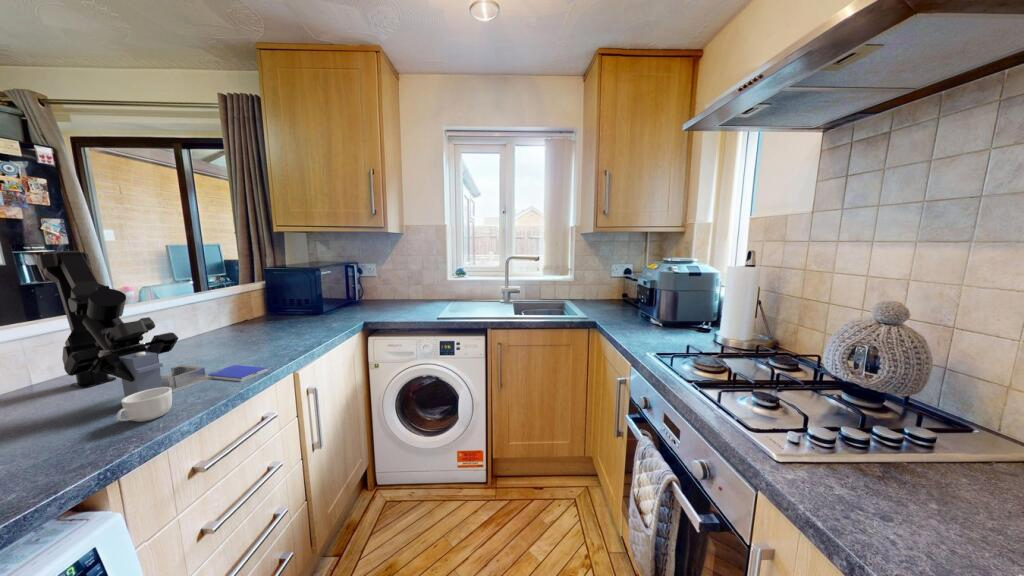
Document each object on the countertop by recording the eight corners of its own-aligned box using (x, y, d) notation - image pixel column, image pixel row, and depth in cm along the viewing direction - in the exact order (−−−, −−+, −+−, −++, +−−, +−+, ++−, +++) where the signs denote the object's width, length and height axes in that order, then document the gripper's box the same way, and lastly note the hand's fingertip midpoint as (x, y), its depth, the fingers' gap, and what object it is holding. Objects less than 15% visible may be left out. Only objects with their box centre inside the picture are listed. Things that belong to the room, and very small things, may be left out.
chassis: (137, 387, 92) (135, 376, 91) (181, 373, 101) (180, 363, 101) (172, 392, 88) (170, 380, 88) (214, 378, 98) (213, 367, 97)
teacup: (152, 408, 80) (149, 387, 79) (184, 408, 80) (181, 386, 79) (101, 431, 70) (97, 407, 69) (138, 431, 70) (134, 407, 69)
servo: (122, 403, 83) (113, 354, 81) (146, 395, 87) (138, 348, 85) (144, 407, 80) (136, 356, 79) (168, 398, 85) (160, 350, 83)
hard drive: (207, 374, 98) (240, 377, 95) (236, 364, 106) (267, 367, 103) (208, 379, 98) (241, 382, 95) (236, 368, 106) (268, 371, 103)
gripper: (61, 318, 73) (102, 370, 71) (168, 303, 90) (202, 345, 89) (47, 350, 76) (86, 401, 74) (153, 329, 94) (186, 370, 92)
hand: (146, 376), depth 82 cm, fingers closed on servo, 4 cm apart
